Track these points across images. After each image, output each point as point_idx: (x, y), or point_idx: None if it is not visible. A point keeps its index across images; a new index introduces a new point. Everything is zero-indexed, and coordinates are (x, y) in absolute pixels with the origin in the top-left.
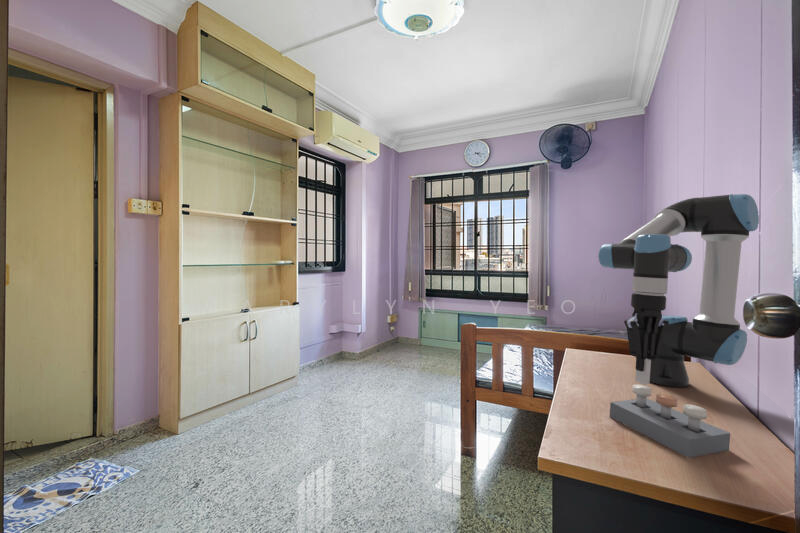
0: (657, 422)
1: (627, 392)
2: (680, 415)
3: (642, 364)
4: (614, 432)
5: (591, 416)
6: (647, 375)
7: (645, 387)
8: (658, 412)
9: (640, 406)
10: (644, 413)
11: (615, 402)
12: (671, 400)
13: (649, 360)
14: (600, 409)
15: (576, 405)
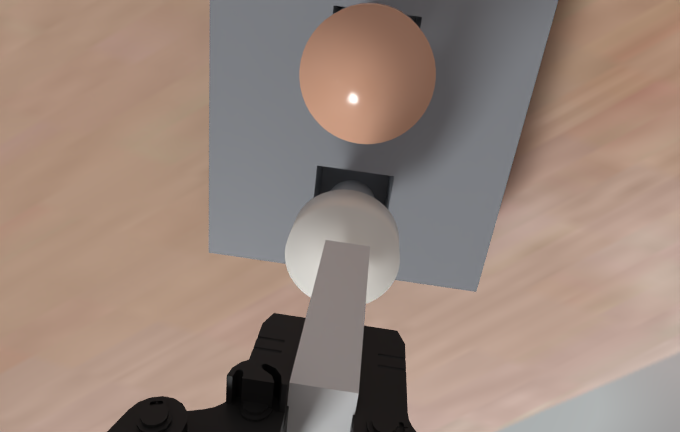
0: (525, 17)
1: (101, 370)
2: (262, 28)
3: (381, 375)
4: (615, 144)
5: (536, 285)
6: (346, 283)
7: (317, 251)
8: None
9: (373, 196)
10: (456, 129)
11: (455, 278)
12: (406, 19)
13: (315, 381)
14: (415, 312)
15: (482, 372)
